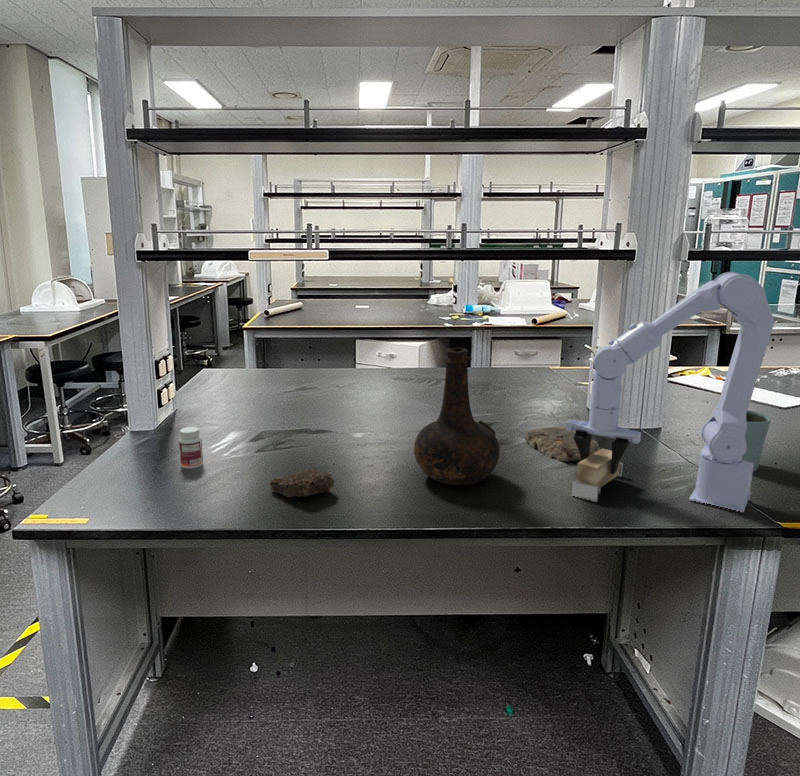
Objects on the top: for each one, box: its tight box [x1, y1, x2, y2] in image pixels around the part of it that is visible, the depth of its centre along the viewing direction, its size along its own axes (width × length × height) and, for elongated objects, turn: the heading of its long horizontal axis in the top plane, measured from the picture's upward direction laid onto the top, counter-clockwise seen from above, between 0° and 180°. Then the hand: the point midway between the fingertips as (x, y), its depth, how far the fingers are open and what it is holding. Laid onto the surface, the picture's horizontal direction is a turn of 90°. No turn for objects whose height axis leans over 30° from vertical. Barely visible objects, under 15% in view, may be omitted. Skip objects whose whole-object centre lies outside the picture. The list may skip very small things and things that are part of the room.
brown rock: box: [269, 469, 335, 498], centre depth 121 cm, size 12×10×5 cm
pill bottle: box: [178, 426, 204, 470], centre depth 135 cm, size 5×5×8 cm
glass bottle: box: [413, 347, 501, 486], centre depth 127 cm, size 18×18×28 cm
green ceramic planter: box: [742, 409, 772, 472], centre depth 137 cm, size 10×10×12 cm
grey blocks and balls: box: [570, 462, 624, 503], centre depth 126 cm, size 5×17×3 cm, turn 144°
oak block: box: [575, 448, 621, 488], centre depth 125 cm, size 4×12×5 cm, turn 139°
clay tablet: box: [524, 426, 601, 463], centre depth 146 cm, size 14×5×20 cm
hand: (599, 469), depth 126 cm, fingers open, 5 cm apart
